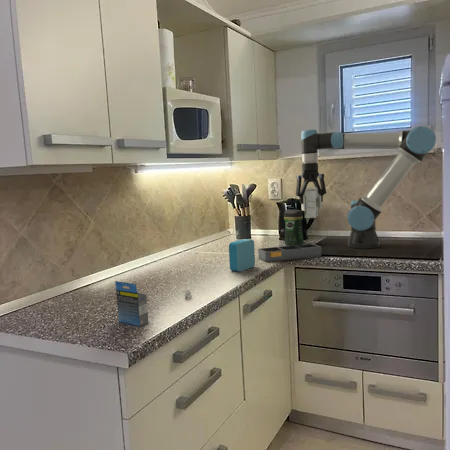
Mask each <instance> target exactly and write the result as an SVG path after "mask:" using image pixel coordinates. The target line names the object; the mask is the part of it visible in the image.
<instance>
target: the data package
mask: <svg viewBox="0 0 450 450" xmlns="http://www.w3.org/2000/svg"><path fill="white" fill-rule="evenodd" d="M228 258H229V261H228V263H229V270H230V271H232V272H237V273H238V272H244V271H246V269H247V270H249V268H250V269H253V268H254V267H255V265H256V257H255V241H254V239H248V238H243V239H239V240H235V241H231V242H229V244H228ZM252 267H253V268H252ZM243 270H244V271H243Z"/></svg>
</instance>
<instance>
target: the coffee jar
mask: <svg viewBox="0 0 450 450" xmlns="http://www.w3.org/2000/svg"><path fill="white" fill-rule="evenodd" d="M303 218H304V217H303V210H302V209H301V210H299V209H286V210H284V213H283V220H284V224H285V225H284V226H285V227H284V228H285V229H284V245H285V246H291V245H301V244H305V243H304V235H303V226H302V225H303Z"/></svg>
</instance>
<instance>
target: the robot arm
mask: <svg viewBox="0 0 450 450" xmlns="http://www.w3.org/2000/svg"><path fill="white" fill-rule="evenodd" d="M300 135H301V137H300V139H301V140H300V142H301V163H302V164H301V165H302V166H301V167H302V173H301V174H300V175H299V174H298V175H296V187H295V188H296V189H295V197H296V196H297V197H298V198H299V204H301V205H300V206H301V211H302V212H305V197H304V193H305V190H306V188H308V187H307V186H308V185H309V183H313V185H314V187H316V188H318V210H322V205H323V204H322V203H323V202H324V196H325V195H326V194H327V189H326V184H325V183H326V182H325V174H324V173H319V163H318V161H319V157H318V155H319V154H318V153H319V150H398V153H397V154H396V155H395V157H394V158H393V160H392V161H391V162H390V164H388V166H387V168H385V169H384V172H383V173H382V174H381V176H380V177H379V178H378V179H377V181H376V182H375V183H374V184H373V185H372V187H371V189H370V190H369V191H368V192H367V194H366V195H364V196H363V195H361V196H360V197H359V199H357V200H352V201H351V204H350V210H349V211H348V214H347V223H348V224H349V225H350V227H351V228H350V234H349V237H348V240H347V247H349V248H352V249H360V250H361V249H364V250H365V249H376V248H379V247H380V239H379V237H378V235H377V231H376V228H377V226H376V225H377V224H376V220H377V218H378V217H379V216H380V214H381V213H382V212H383V210H382V206H383V205H384V204H385V202H386V201H387V200H388V199H389V197H390V196H391V195H392V194H393V192H395V190H396V188H397V187H398V186H399V185H400V184H401V182H402V181H403V179H404V178H405V177H406V176H407V175H408V173H410V171H411V170H412V168H413V167H414V166H415V164H417V163H421V162H422V161H423V160H424V158H425V157H426V156H427V155H428V154H429V152H430V151H432V150H433V149H434V147H435V145H436V142H437V136H436V134H435V132H434V130H432V129H431V128H429V127H427V126H423V125H420V126H419V125H418V126H416V127H413V128H412V129H409V130H401V131H400V132H391V133H390V132H379V133H378V132H377V133H374V132H372V133H371V132H370V133H367V132H366V133H365V132H364V133H344V132H341V131H332V132H324V133H318V131H317V129H305V130H302V131H301V134H300ZM318 178H319V180H318ZM302 180H303V182H302Z"/></svg>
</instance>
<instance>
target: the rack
mask: <svg viewBox="0 0 450 450" xmlns="http://www.w3.org/2000/svg"><path fill="white" fill-rule="evenodd" d="M257 254H258V256H257V257H258V259H259V260H261V261H263V262H264V263H271V262H280V261H287V260H288V261H290V260H299V259H308V258H319V257H322V246H320V245H317V244H315V243H303V244H301V245H282V246H281V245H280V246H272V247H264V248H263V247H262V248H258V249H257Z"/></svg>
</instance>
